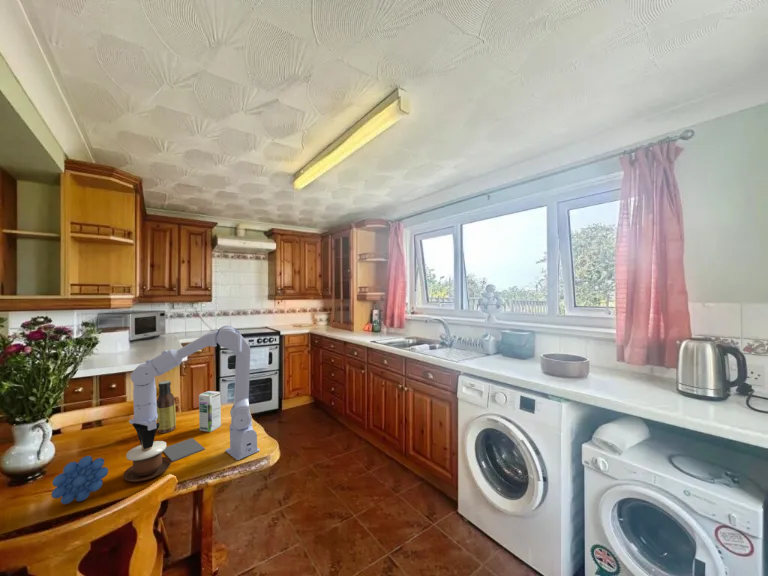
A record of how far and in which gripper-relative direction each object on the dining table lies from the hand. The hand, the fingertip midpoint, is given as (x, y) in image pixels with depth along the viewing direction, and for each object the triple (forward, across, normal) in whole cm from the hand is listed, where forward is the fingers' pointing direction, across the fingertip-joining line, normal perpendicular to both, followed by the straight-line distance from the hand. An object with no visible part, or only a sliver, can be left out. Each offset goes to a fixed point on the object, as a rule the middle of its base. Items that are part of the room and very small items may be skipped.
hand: (146, 445), depth 99 cm
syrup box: (+9, -17, +25) cm, 31 cm away
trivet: (+9, -7, +12) cm, 16 cm away
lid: (+2, 0, 0) cm, 2 cm away
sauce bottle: (+9, -29, +13) cm, 33 cm away
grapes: (+9, 0, -15) cm, 17 cm away
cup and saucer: (+9, 0, 0) cm, 9 cm away
